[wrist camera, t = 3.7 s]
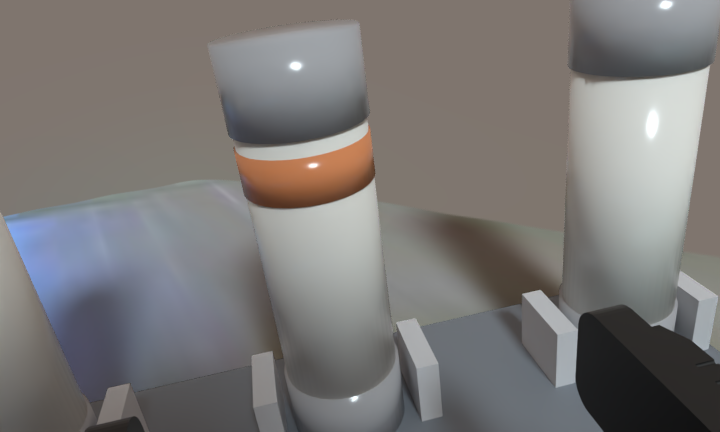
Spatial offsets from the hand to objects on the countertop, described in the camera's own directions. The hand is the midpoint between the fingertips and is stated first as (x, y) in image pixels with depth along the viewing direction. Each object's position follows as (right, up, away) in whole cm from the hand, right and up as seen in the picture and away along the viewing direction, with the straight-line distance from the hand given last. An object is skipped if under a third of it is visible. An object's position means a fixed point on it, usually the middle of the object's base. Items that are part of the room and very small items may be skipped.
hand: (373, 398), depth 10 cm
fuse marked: (-1, -4, +11) cm, 12 cm away
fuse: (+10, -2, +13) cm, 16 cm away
